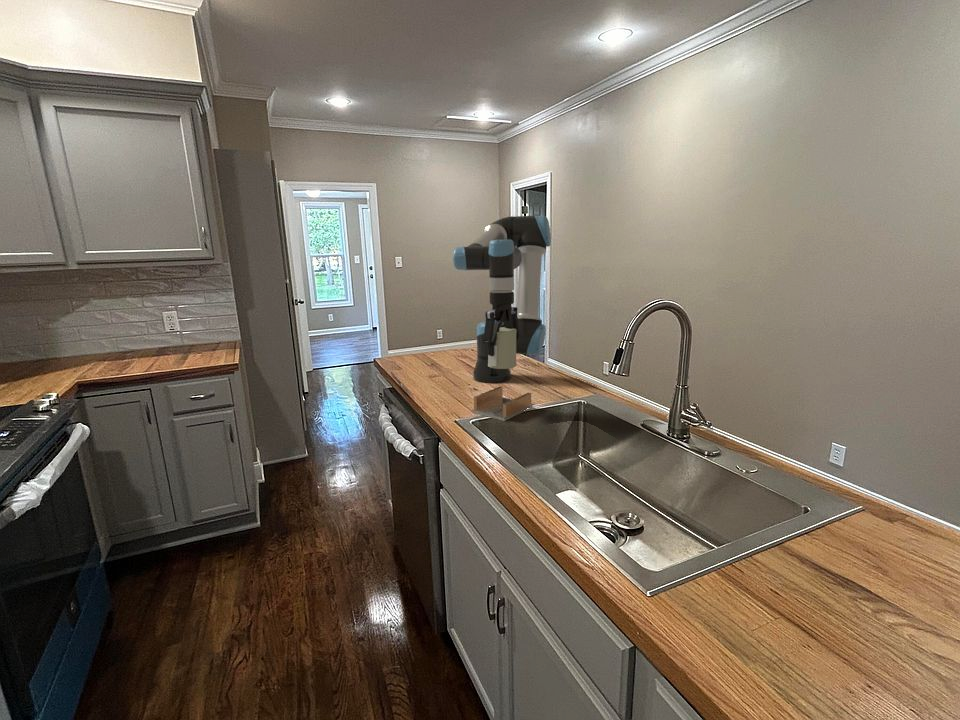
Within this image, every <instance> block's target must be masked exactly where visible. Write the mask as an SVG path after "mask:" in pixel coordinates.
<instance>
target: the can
mask: <svg viewBox="0 0 960 720" xmlns="http://www.w3.org/2000/svg"><path fill="white" fill-rule="evenodd" d="M516 331H517V330H516V329H515V328H512V329H509V328H505V327H500V329H499V332H497V340H496V344H495V345H497V366H491V365H489V355H488V366H489V367H491V368H495V369H512V368H515V367H517V354H516Z"/></svg>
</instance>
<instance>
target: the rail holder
mask: <svg viewBox="0 0 960 720" xmlns="http://www.w3.org/2000/svg"><path fill="white" fill-rule="evenodd" d="M503 392H504V391H503V386H498V387H495V388H493V389H490V390H488V391H486V392H483V393H481V394H477V395H476V396H473V409H471V413H472V414H476V415H479V414H481V415H480V416H483V415H486V416H485V417H487V416H490V417H491V419H494V420H499V421H503V422H506V421H508V420H509V419H510V420H511V418H515V417H516V416H518V415H519V414H522V413H524V412H525V411H524V410H526V409H527V408H530V407H532V406H533V407H534V404H533V403H532V393H531V392H527V393H525V394H522V395H519V396H518V397H515V398H513V399H512V398H507V397H503V396H504V395H503ZM533 407H532V408H533ZM530 409H531V408H530ZM523 411H524V412H523ZM526 411H527V410H526ZM490 417H489V418H490Z"/></svg>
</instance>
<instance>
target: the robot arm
mask: <svg viewBox="0 0 960 720" xmlns="http://www.w3.org/2000/svg"><path fill="white" fill-rule="evenodd" d="M551 243H552V237H551V228H550V221H549V219H548V217H547V216H545V215H517V216H516V215H515V216H513V215H511V216H506V217H501V218H499V219H497V220H495V221H493V222H491V223H490V224H488V225H487V226H486V227H485V228H484V230H483V233H482V234H480V235H479V236H478V237H477V238H476V239H475V240H473V242H471V243H470V244H469V245H468V246H464V245H463V246H457V247H456V248H454V251H453V254H452V261H453V266H454V268H455V269H457V270H460V271H461V270H462V271H489V275H488V277H489V290H490V291H491V292H489V304H490V305H491V306H492V308H491V310H490V311H485V315H484V316H485V321H482V322H480V323H478V324H477V325H476V351H477V352H476V354H477V356H476V357H477V358H476V363H475V366H474V370H473V372H472V373H473V374H472V376H473V377H472V378H473V379H474V380H475V381H477V382H481V383H489V384H490V383H503V382H505V381H509V380H510V379H511V377H512V373H511V370H510V369H511V368H509V369H495V368H491V367H489V366H488V355H489V365H491V366H497V345H495V344H496V340H497V332H499V329H500V327H505V328H509V329H512V328H515V329H516V330H517V331H516V355H528V356H529V355H538V354H540V353H541V352H542V349H543V347H544V344H545V340H546V330H547V329H546V327H547V326H546V325H544V324H543V319H542V318H541V317H540V316H539V310H540V309H539V308H540V307H539V306H540V293H541V292H540V291H541V278H542V261H543V259H542V257H543V255H544V254H545V253H546V252H547V247H550V246H551V245H552V244H551ZM517 268H518V281H517V295H516V296H517V299H516V306H512V305H514V303H515V293H514V290H515V269H517Z"/></svg>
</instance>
